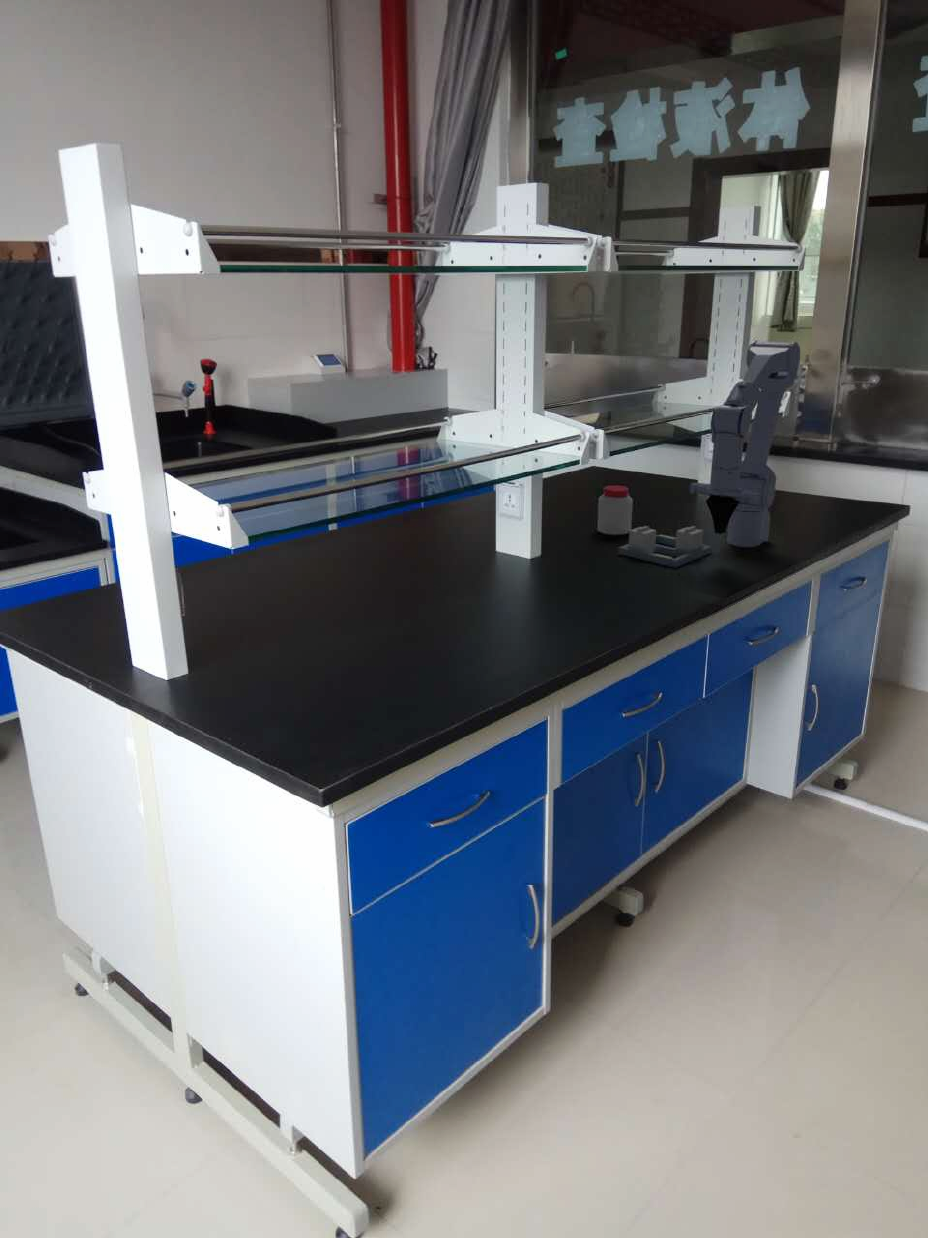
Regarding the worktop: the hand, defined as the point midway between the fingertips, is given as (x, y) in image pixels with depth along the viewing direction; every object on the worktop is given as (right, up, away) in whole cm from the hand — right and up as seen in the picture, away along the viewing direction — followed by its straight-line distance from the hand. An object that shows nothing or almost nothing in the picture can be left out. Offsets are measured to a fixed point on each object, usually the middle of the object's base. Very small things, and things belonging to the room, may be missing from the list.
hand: (720, 532), depth 190 cm
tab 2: (-5, -4, +7) cm, 9 cm away
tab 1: (-15, -4, +7) cm, 17 cm away
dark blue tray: (-11, -4, +9) cm, 15 cm away
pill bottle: (-18, +2, +25) cm, 31 cm away
